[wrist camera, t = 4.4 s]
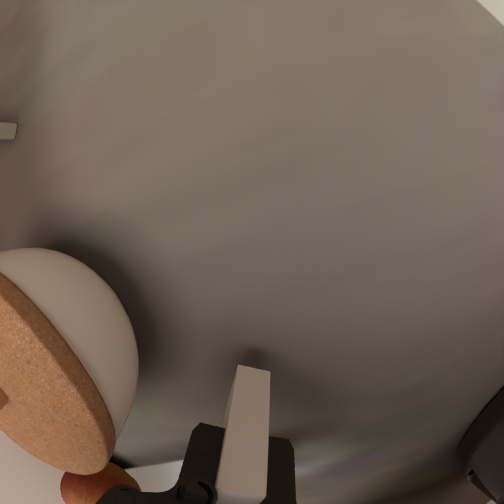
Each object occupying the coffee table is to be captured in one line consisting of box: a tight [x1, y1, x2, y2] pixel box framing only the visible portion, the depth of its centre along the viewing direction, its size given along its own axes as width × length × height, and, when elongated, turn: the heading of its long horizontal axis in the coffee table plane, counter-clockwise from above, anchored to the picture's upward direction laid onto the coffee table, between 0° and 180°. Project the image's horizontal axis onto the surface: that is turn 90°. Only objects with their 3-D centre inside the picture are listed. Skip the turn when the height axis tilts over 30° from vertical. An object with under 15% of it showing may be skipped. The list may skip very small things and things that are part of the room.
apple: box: [60, 462, 141, 504], centre depth 16 cm, size 8×8×8 cm
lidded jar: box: [0, 248, 139, 475], centre depth 11 cm, size 11×11×9 cm
